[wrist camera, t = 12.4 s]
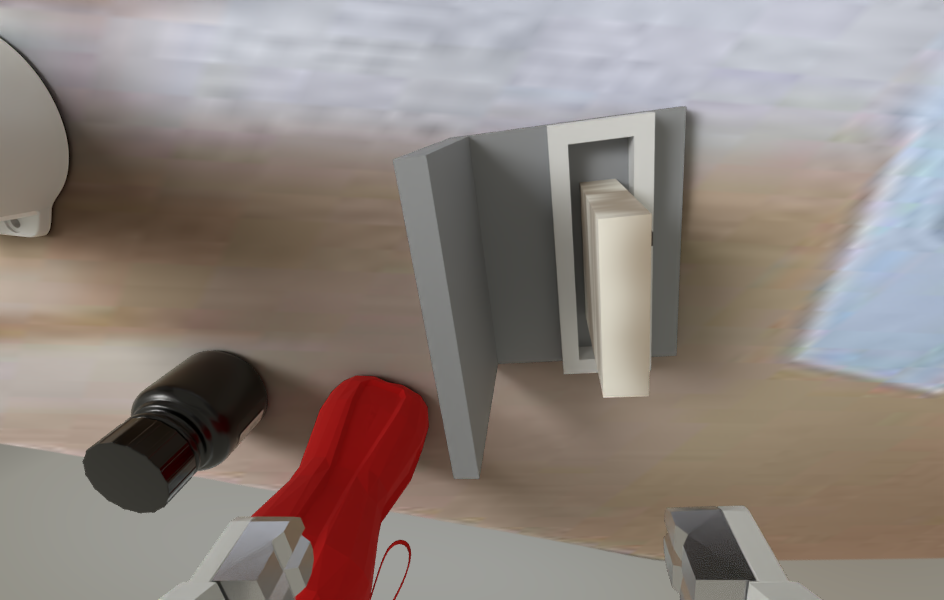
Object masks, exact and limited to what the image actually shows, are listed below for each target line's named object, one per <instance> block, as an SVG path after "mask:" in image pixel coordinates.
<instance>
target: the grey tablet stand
mask: <svg viewBox="0 0 944 600" xmlns="http://www.w3.org/2000/svg"><path fill="white" fill-rule="evenodd" d="M685 125H686V107H674V108H666V109H659V110H652V111H644V112H637V113H630V114H622V115H615V116H608V117H600V118H593V119H586V120H579V121H571V122H564V123H557V124H549V125H542V126H535V127H527V128H520V129H513V130H505V131H498V132H491V133H483V134H476V135H469V136H462V137H454V138H449V139H446V140H444V141H441V142H438V143H436V144H433V145H430V146H428V147H425V148H422V149H420V150H417V151H414V152H412V153H409V154H406V155H404V156H401V157H398V158H395V159H393V163H394V169H395V174H396V179H397V184H398V190H399V195H400V200H401V205H402V210H403V216H404V221H405V226H406V231H407V237H408V242H409V247H410V252H411V257H412V263H413V268H414V273H415V278H416V284H417V289H418V294H419V299H420V304H421V310H422V315H423V320H424V325H425V330H426V336H427V341H428V346H429V351H430V357H431V362H432V367H433V372H434V377H435V383H436V388H437V393H438V398H439V404H440V409H441V414H442V419H443V424H444V430H445V435H446V440H447V445H448V451H449V456H450V461H451V466H452V471H453V477H454V479H479V478H480V471H481V465H482V459H483V453H484V447H485V441H486V434H487V428H488V422H489V416H490V410H491V404H492V397H493V391H494V385H495V379H496V373H497V367H498V364H506V363H528V362H550V361H563V370H564V374H580V373H598V371H597V366H596V361H595V357H594V352H593V347H592V343H591V338H590V334H589V329H588V324H587V320H586V315H585V296H584V273H583V251H582V228H581V206H580V183H581V182H590V181H599V180H608V179H617V180H618V181H619V182H620V183H621V184H622V185H623V186H624V187H625V188H626V189H627V190H628V191H629V192H630V193H631V194H632V195H633V196H634V197H635V198H636V199H637V200H638V201H639V202H640V203H641V204H642V205H643V206H644V207H645V208H646V209H647V210H648V211H649V212H650V213H651V214H652V229H651V230H652V231H653V246H651V298H650V368H649V371H651V357H658V356H676V354H677V328H678V303H679V277H680V252H681V227H682V201H683V176H684V150H685Z"/></svg>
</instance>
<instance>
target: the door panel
mask: <svg viewBox="0 0 944 600" xmlns="http://www.w3.org/2000/svg"><path fill="white" fill-rule="evenodd" d="M580 206H581V228H582V251H583V273H584V296H585V315H586V320H587V324H588V329H589V334H590V338H591V343H592V347H593V352H594V357H595V361H596V366H597V371H598V375H599V380H600V384H601V389H602V394H603V398H611V397H643V396H649V368H650V298H651V246H653V231H652V230H651V229H652V214H651V213H650V212H649V211H648V210H647V209H646V208H645V207H644V206H643V205H642V204H641V203H640V202H639V201H638V200H637V199H636V198H635V197H634V196H633V195H632V194H631V193H630V192H629V191H628V190H627V189H626V188H625V187H624V186H623V185H622V184H621V183H620V182H619V181H618V180H617V179H608V180H599V181H590V182H581V183H580Z"/></svg>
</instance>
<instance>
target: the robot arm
mask: <svg viewBox="0 0 944 600" xmlns="http://www.w3.org/2000/svg"><path fill="white" fill-rule="evenodd" d="M68 166H69V150H68V142H67V137H66V133H65V129H64V125H63V122H62V119H61V117H60V114H59V112H58V109H57V107H56V105H55V103H54V101H53V99H52V97H51V95H50V93H49V92H48V90H47V88H46V87H45V85H44V84H43V82H42V81H41V79H40V78H39V77H38V75H37V74H36V73H35V71H34V70H33V69H32V68H31V66H30V65H29V64H28V63H27V62H26V61H25V60H24V59H23V58H22V56H21V55H20V54H19V53H17V52H16V51H15V50H14V49H13V48H12V47H11V46H10V45H8V44H7V43H6V42H5V41H3V40H2V39H1V38H0V234H3V235H12V236H21V237H38V236H44V235H47V234H48V232H49V230H50V226H51V213H52V205H53V203H54V201H55V199H56V198H57V196H58V195H59V193H60V191H61V190H62V188H63V186H64V183H65V181H66V177H67V173H68ZM664 522H665V525H666V528H667V530H668V533H667V534H666V535H665V536H664V554H665V562H666V566H667V571H668V575H669V578H670V581H671V585H672V587H673V588H674V589H675V590H676V591H677V592H678V593H679V594H680V600H822V599H821V598H820V597H818V596H817V595H816V594H814V593H813V592H812V591H810V590H809V589H808V588H806V587H805V586H804V585H802V584H801V583H800V582H793V581H789V579H788V577H787V575H786V574H785V572H784V570H783V569H782V567H781V565H780V563H779V562H778V560H777V558H776V556H775V555H774V553H773V551H772V549H771V548H770V546H769V544H768V542H767V541H766V539H765V537H764V536H763V534H762V532H761V530H760V529H759V527H758V525H757V523H756V522H755V520H754V518H753V516H752V515H751V513H750V511H749V510H748V509H747V508H746V507H745V506H718V507H716V506H704V507H675V508H666V510H665V518H664ZM304 529H305V527H304V524H303V522H302V520H301V518H300V517H260V516H257V517H236V518H235V519H233V520H232V521H231V522H230V523H229V524H228V526H227V527H226V528H225V530H224V531H223V533H222V534H221V536H220V537H219V538H218V540H217V541H216V543H215V544H214V546H213V547H212V548H211V550H210V551H209V553H208V554H207V556H206V557H205V559H204V560H203V562H202V563H201V564H200V566H199V567H198V569H197V570H196V571H195V573H194V574H193V576H192V577H191V579H190V580H189V581H188V582H181V583H180V584H179V585H177V586H176V587H175V588H173V589H172V590H171V591H169V592H168V593H166V594H165V595H164V596H162V597H161V598H160V599H158V600H296V599H295V596H297V595H298V594H299V593H300V592H301V591H302V590H303V589H304V588H305V587H306V586H307V583H308V581H309V579H310V576H311V573H312V568H313V562H314V555H313V548H312V545H311V542H310V541H309V540H307V539H306V538H305V537H304V536H302V533H303V531H304Z"/></svg>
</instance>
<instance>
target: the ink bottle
mask: <svg viewBox="0 0 944 600" xmlns="http://www.w3.org/2000/svg"><path fill="white" fill-rule="evenodd" d="M267 403H268V400H267V393H266V389H265V387H264V384H263V382H262V380H261V378H260V377H259V375H258V374H257V372H256V371H255V370H254V369H253V368H252V367H251V366H250V365H249V364H248V363H247V362H245V361H244V360H242V359H241V358H239V357H237V356H235V355H232V354H229V353H226V352H221V351H203V352H199V353H196V354H194V355H192V356H191V357H189V358H188V359H186V360H185V361H183V362H182V363H181V364H179V365H178V366H176V367H175V368H174V369H172V370H171V371H170V372H168V373H167V374H165V375H164V376H163V377H161V378H160V379H158V380H157V381H156V382H154V383H153V384H151V385H150V386H149V387H147V388H146V389H145V390H143V391H142V392H141V393H140V394H139V395H138V396H137V398H136V399H135V401H134V403H133V405H132V409H131V417H130V418H128V419H127V420H126V421H125V422H124V423H122V424H120V425H119V426H118V427H116V428H115V429H114V430H112V431H111V432H110V433H109V434H107V435H106V436H105V437H103V438H102V439H101V440H99V441H98V442H97V443H95V444H94V445H93V446H91V447H90V448H89V449H88V450H87V451H86V454H85V457H84V460H83V464H84V469H85V475H86V476H87V477H88V479H89V480H90V482H91V484H92V485H93V487H94V488H95V490H97V491H98V492H99V493H100V494H102V495H103V496H104V497H105V498H106V499H107V500H108V501H110V502H112V503H114V504H116V505H118V506H120V507H121V508H123V509H127V510H130V511H134V512H138V513H147V512H152V513H153V512H156V511H157V510H159V509H161V508H162V507H165V506H166V505H167V504H168V502H170V500H171V499H172V498H173V497H174V496H175V495H176V494H177V493H178V492H179V491H180V490H181V489H182V488H183V486H184V485H185V484H186V483H187V482H188V481H189V480H190V479H191V478H192V476H193V475H194V474H195V473H196V472H197V471H202V470H207V469H210V468H213V467H215V466H217V465H219V464H220V463H222V462H223V461H224V460H225V459H226V458H227V457H228V456H229V455H230V454H231V453H232V452H233V451H234V449H235V448H236V447H237V446H238V445H239V444H240V443H241V442H242V440H243V439H244V438H245V437H246V436H247V435H248V434H249V433H250V431H251V430H252V429H253V428H254V427H255V426H256V425H257V423H258V422H259V421H260V420H261V419H262V417H263V416H264V414H265V412H266V409H267Z"/></svg>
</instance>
